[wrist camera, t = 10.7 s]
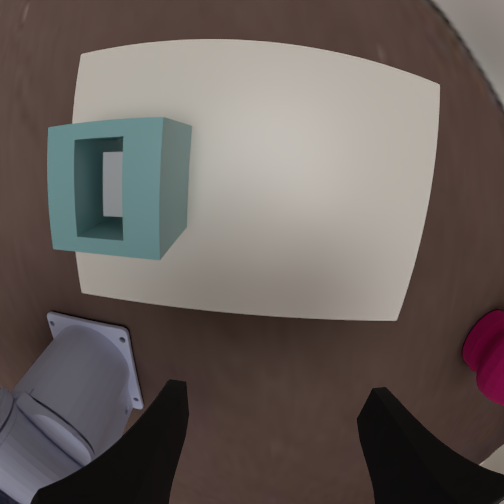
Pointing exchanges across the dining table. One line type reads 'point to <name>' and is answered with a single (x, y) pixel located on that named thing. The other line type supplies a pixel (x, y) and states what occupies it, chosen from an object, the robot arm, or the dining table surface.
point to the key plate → (272, 176)
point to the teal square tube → (133, 186)
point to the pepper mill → (487, 355)
